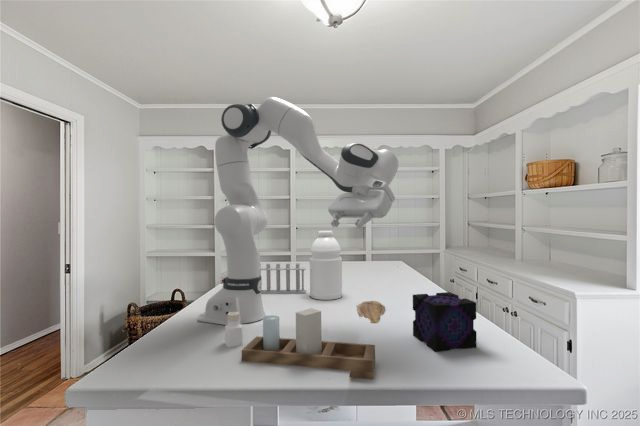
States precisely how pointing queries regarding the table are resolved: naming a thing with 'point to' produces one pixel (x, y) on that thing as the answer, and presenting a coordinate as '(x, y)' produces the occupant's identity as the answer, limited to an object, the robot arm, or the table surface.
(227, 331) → the pepper shaker
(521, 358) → the table surface
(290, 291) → the test tube rack
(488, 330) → the table surface
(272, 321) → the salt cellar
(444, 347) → the energy cube
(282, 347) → the rack
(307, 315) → the clay block
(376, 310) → the fish fossil
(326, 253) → the bottle
